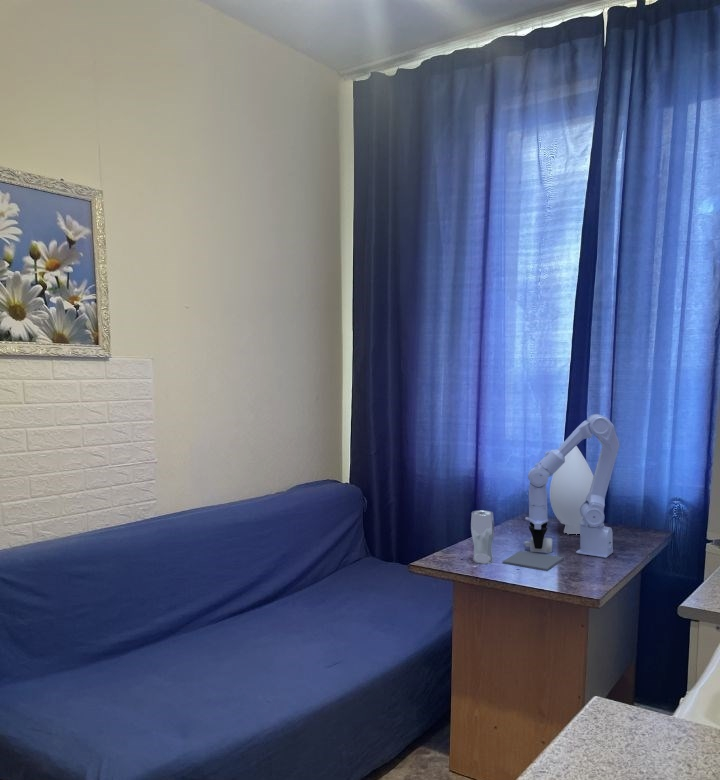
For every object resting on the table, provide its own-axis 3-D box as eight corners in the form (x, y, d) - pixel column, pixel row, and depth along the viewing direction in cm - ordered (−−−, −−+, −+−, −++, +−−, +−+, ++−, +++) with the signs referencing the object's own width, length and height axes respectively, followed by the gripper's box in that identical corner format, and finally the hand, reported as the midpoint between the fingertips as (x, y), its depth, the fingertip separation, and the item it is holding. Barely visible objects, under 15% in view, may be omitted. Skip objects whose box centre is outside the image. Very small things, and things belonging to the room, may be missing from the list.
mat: (563, 559, 198) (563, 557, 198) (547, 571, 187) (547, 569, 187) (520, 552, 207) (520, 550, 207) (502, 563, 195) (502, 561, 195)
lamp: (541, 533, 231) (540, 435, 230) (565, 525, 241) (564, 432, 240) (582, 541, 219) (582, 438, 218) (605, 532, 230) (604, 435, 229)
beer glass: (467, 559, 200) (466, 511, 200) (486, 556, 203) (486, 509, 202) (479, 565, 194) (478, 516, 193) (498, 562, 196) (498, 513, 196)
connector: (552, 550, 209) (552, 537, 209) (552, 553, 205) (552, 540, 205) (525, 548, 211) (525, 536, 211) (524, 551, 208) (524, 539, 208)
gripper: (526, 499, 216) (526, 539, 216) (524, 508, 202) (524, 551, 202) (548, 500, 214) (548, 541, 214) (547, 509, 200) (548, 553, 200)
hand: (538, 546), depth 208 cm, fingers open, 4 cm apart
